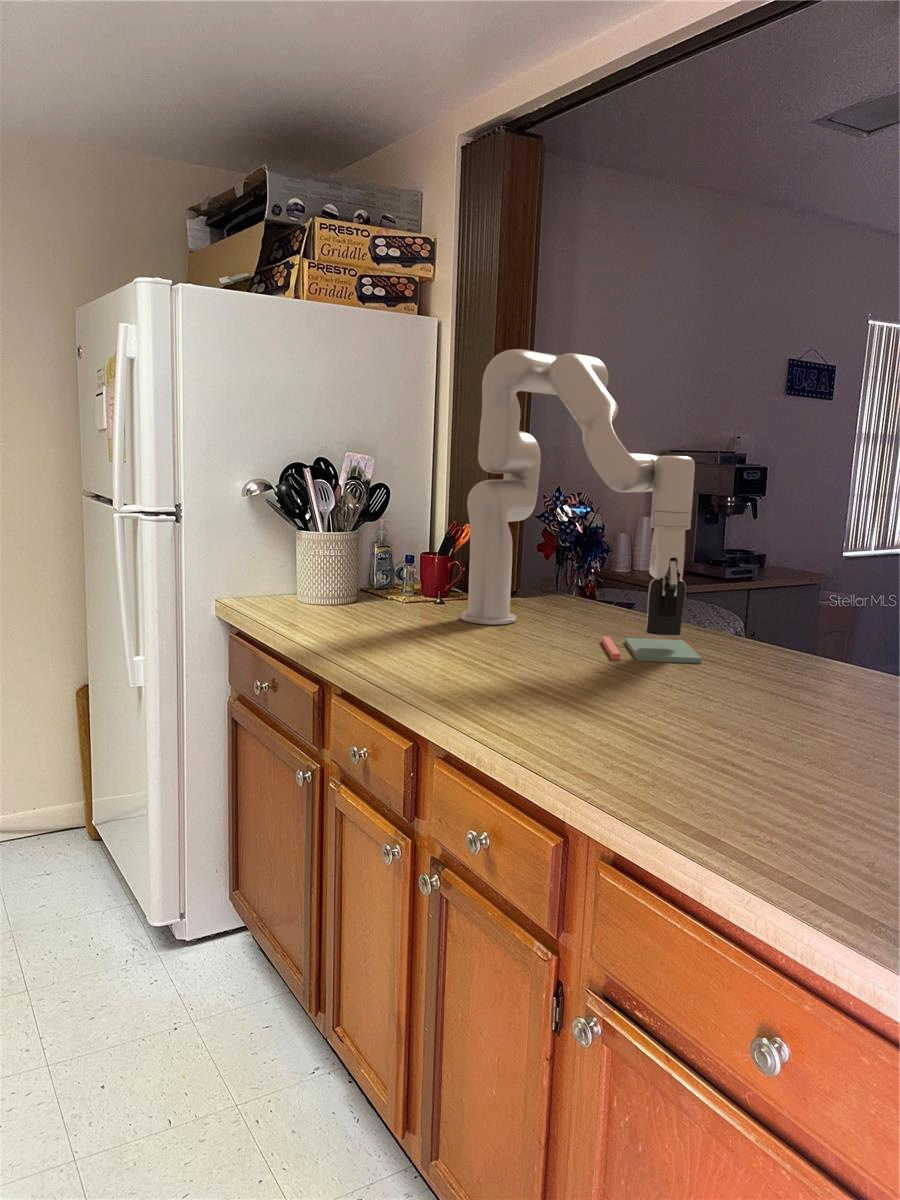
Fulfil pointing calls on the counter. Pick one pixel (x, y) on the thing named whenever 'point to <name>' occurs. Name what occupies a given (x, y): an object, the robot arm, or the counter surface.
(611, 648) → the bar
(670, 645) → the mat
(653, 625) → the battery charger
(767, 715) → the counter surface
